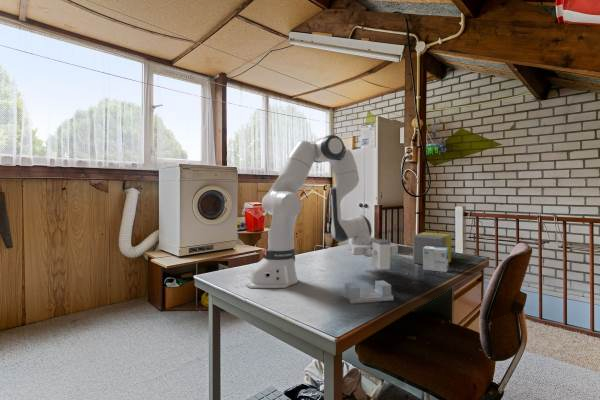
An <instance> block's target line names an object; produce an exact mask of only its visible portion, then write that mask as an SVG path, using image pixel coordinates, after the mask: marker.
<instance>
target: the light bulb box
mask: <svg viewBox="0 0 600 400" xmlns="http://www.w3.org/2000/svg"><path fill="white" fill-rule="evenodd" d="M422 269H423V271H424V270H425V271H426V270H427V271H433V272H434V271H435V272H440V273H447V272H448V270H449V263H448V248H443V247H430V246H425V247H424V248H423V265H422Z"/></svg>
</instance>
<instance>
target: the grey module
mask: <svg viewBox="0 0 600 400" xmlns="http://www.w3.org/2000/svg"><path fill="white" fill-rule="evenodd" d="M372 242H373V244H372V250H376V251H377V255H372V257H371V265H372V267H375V268H376V269H378V270H390V269H391V254H390V244H391V243H392V242H391V241H389V240H387V239H385V240H384V238H376V239H372Z"/></svg>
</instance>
